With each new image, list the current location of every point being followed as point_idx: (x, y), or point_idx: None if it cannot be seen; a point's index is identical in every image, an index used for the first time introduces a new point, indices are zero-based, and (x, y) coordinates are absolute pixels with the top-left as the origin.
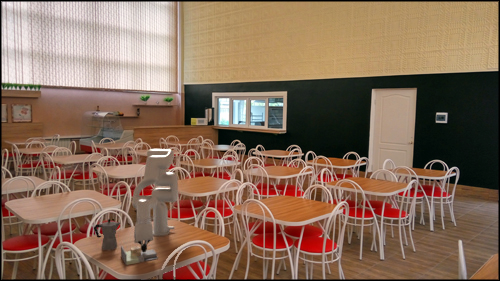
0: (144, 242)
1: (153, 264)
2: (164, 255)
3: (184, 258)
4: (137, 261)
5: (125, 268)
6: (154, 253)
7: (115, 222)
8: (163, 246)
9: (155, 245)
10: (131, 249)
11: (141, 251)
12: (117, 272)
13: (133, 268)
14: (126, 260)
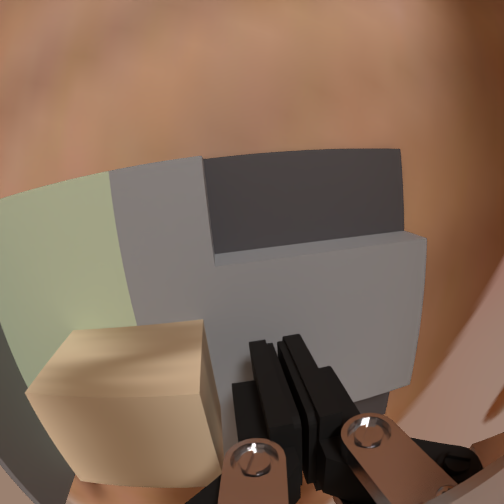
0: (347, 454)
1: (309, 484)
2: (453, 343)
3: (499, 403)
4: None
5: (94, 483)
6: (391, 383)
7: None
8: (494, 99)
9: (433, 22)
10: (65, 457)
11: (243, 269)
12: None
13: (153, 500)
14: (74, 474)
